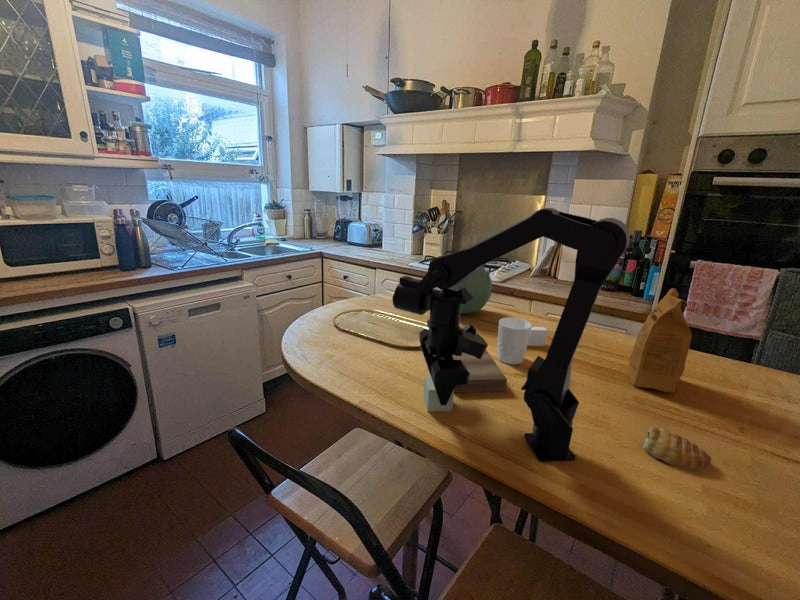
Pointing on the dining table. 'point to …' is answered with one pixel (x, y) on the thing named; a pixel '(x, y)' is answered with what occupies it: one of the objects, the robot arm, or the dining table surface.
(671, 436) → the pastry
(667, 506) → the dining table surface
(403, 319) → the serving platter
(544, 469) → the dining table surface
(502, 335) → the white cup
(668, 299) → the coffee package
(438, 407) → the sage cube
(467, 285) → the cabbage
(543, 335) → the napkin holder
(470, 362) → the walnut block
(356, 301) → the dining table surface
